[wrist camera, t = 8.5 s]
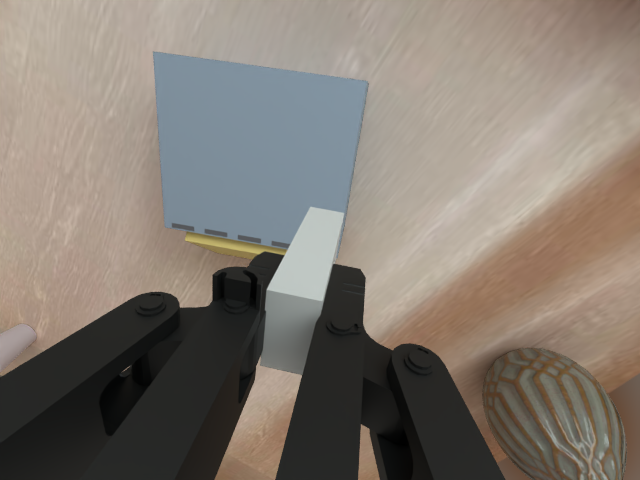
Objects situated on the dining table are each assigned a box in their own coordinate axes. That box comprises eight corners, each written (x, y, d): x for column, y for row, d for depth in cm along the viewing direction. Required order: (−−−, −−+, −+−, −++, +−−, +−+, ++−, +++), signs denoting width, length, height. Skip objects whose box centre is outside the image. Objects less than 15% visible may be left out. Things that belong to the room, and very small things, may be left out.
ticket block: (202, 60, 37) (152, 51, 28) (368, 83, 35) (366, 81, 27) (204, 201, 43) (164, 227, 35) (344, 225, 42) (337, 258, 34)
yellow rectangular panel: (187, 231, 36) (184, 240, 36) (318, 254, 35) (316, 264, 35) (219, 245, 46) (217, 253, 45) (322, 264, 45) (320, 272, 44)
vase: (491, 318, 44) (556, 447, 28) (595, 341, 43) (724, 486, 27) (458, 391, 49) (497, 532, 34) (550, 412, 49) (636, 568, 33)
